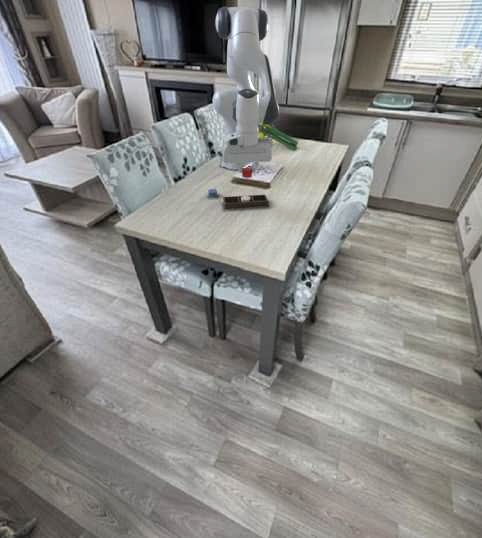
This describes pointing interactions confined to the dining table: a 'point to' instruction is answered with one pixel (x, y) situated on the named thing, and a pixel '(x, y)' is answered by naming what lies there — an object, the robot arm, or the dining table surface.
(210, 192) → the slate token
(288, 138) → the daffodil flowers
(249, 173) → the red token
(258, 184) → the dining table surface
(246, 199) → the ivory token
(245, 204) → the token board
